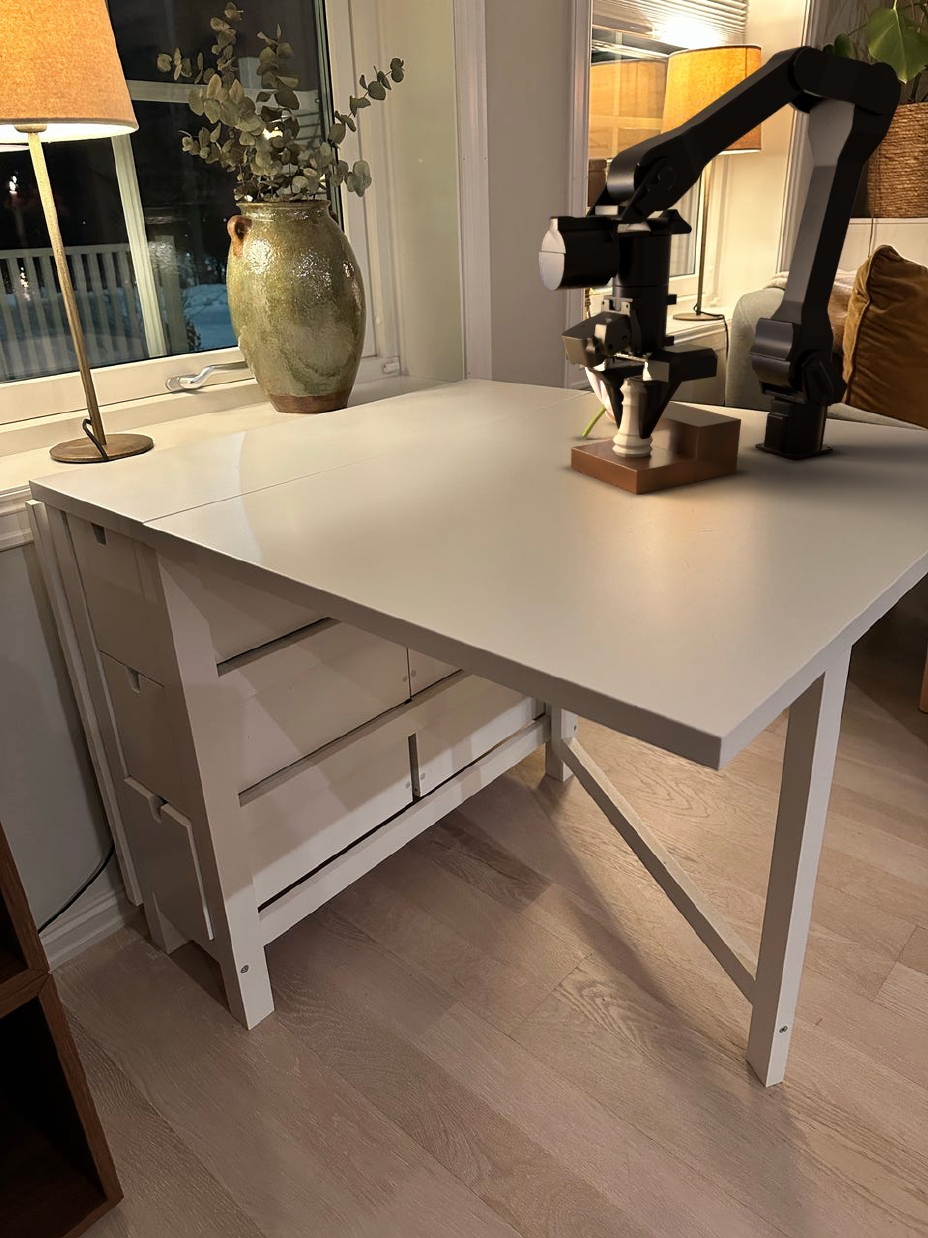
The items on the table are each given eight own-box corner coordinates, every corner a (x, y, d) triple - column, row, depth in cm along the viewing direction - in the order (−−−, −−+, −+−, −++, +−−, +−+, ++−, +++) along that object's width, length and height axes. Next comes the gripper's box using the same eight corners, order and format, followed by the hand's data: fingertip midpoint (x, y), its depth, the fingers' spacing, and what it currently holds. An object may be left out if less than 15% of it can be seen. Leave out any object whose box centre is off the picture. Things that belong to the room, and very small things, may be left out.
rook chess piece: (643, 460, 95) (647, 384, 92) (605, 455, 98) (608, 381, 94) (659, 450, 99) (663, 377, 95) (621, 445, 101) (624, 374, 98)
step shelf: (665, 450, 108) (668, 400, 106) (736, 472, 99) (741, 419, 96) (570, 468, 102) (571, 416, 100) (635, 494, 93) (638, 437, 90)
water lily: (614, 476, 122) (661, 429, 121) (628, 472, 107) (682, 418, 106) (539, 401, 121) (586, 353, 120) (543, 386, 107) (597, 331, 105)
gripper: (525, 284, 95) (526, 429, 102) (634, 297, 80) (627, 466, 87) (609, 277, 99) (605, 416, 106) (728, 287, 84) (714, 448, 91)
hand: (633, 435), depth 97 cm, fingers closed on rook chess piece, 3 cm apart
